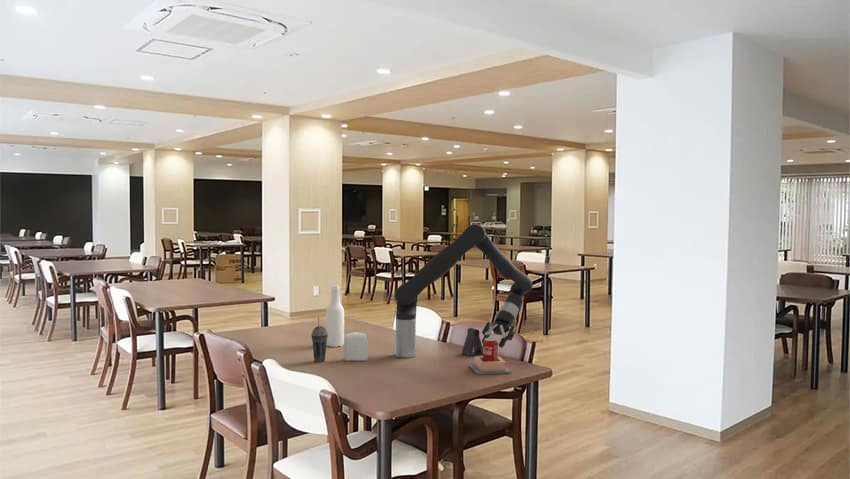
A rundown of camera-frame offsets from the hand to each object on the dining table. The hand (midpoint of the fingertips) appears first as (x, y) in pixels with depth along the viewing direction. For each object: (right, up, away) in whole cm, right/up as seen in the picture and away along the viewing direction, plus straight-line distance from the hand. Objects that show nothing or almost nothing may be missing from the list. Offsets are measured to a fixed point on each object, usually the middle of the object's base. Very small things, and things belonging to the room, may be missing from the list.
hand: (491, 345), depth 254 cm
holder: (-1, -10, -1) cm, 10 cm away
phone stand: (-6, -10, +29) cm, 31 cm away
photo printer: (-59, -9, +15) cm, 62 cm away
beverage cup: (-75, -9, +11) cm, 76 cm away
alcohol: (-73, -8, +45) cm, 86 cm away
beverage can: (-1, -10, 0) cm, 10 cm away
